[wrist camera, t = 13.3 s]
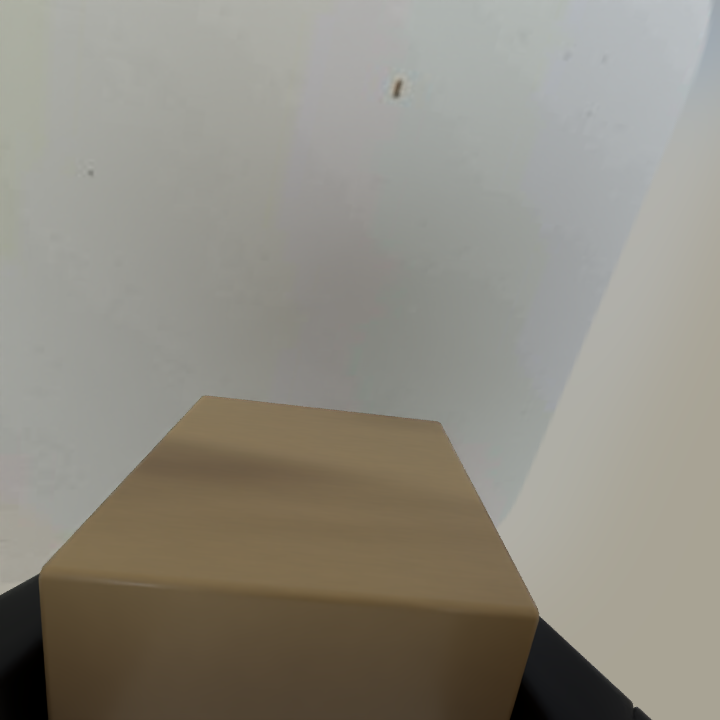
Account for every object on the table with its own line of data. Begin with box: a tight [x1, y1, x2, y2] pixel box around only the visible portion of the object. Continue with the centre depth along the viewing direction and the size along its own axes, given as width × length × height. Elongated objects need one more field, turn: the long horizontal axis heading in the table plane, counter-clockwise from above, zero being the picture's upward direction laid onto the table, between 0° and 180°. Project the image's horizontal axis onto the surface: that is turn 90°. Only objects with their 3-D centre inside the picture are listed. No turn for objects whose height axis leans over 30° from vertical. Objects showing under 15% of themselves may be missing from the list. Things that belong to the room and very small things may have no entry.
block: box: [39, 396, 539, 720], centre depth 6 cm, size 4×4×4 cm
